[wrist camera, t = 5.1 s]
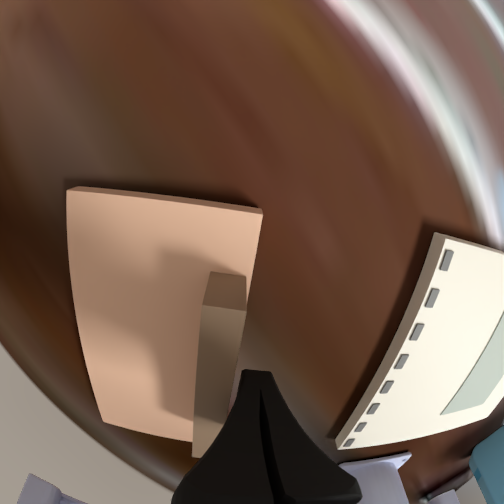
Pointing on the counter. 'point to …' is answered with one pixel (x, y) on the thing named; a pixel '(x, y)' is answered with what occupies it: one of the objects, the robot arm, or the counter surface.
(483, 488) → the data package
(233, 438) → the robot arm
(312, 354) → the counter surface
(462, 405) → the board
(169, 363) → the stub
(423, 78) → the counter surface
